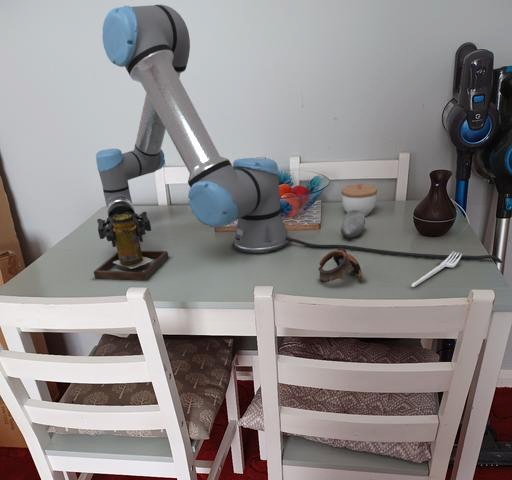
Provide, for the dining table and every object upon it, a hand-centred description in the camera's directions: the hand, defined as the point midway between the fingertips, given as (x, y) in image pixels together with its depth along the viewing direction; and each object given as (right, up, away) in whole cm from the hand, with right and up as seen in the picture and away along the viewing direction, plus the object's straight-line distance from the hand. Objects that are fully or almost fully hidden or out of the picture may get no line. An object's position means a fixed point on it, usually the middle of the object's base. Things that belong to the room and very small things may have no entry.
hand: (126, 239), depth 130 cm
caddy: (-1, -6, +9) cm, 11 cm away
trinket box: (+64, +14, +33) cm, 73 cm away
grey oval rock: (+59, +4, +18) cm, 62 cm away
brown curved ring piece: (+52, -11, -6) cm, 54 cm away
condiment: (0, -5, +8) cm, 10 cm away
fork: (+74, -10, -8) cm, 75 cm away
